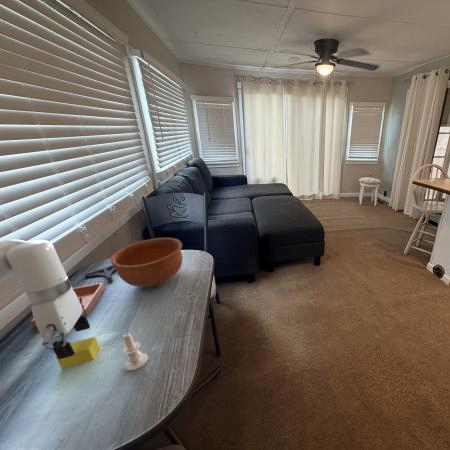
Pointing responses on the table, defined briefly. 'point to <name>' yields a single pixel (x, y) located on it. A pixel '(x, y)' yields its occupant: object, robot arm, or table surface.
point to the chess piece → (133, 354)
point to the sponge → (81, 352)
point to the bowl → (148, 261)
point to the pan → (86, 297)
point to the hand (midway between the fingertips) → (75, 342)
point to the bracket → (105, 272)
